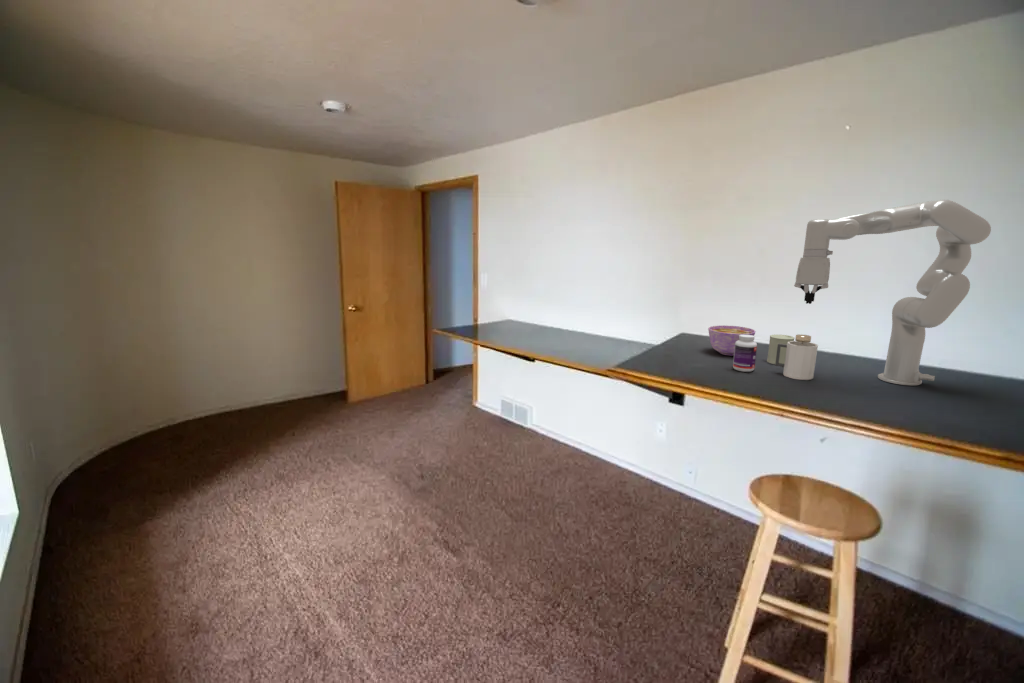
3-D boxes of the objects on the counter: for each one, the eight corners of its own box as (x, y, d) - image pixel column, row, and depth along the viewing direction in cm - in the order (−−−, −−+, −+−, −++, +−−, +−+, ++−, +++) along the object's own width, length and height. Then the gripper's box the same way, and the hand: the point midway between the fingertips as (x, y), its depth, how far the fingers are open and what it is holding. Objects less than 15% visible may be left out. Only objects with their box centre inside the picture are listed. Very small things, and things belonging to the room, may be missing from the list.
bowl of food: (697, 349, 218) (699, 326, 216) (734, 347, 222) (736, 324, 219) (723, 360, 199) (725, 334, 197) (763, 357, 203) (766, 332, 200)
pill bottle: (755, 373, 180) (760, 338, 176) (733, 371, 182) (737, 337, 179) (752, 367, 187) (756, 334, 184) (731, 366, 190) (734, 333, 186)
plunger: (810, 369, 176) (815, 335, 173) (808, 373, 170) (813, 338, 167) (789, 366, 180) (793, 333, 177) (786, 370, 174) (791, 336, 171)
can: (795, 365, 190) (799, 337, 188) (773, 365, 190) (777, 338, 188) (783, 359, 199) (786, 333, 197) (762, 359, 199) (765, 333, 197)
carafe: (814, 375, 176) (819, 343, 174) (811, 381, 169) (816, 348, 166) (776, 369, 184) (780, 338, 181) (772, 375, 177) (776, 343, 174)
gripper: (840, 253, 163) (833, 303, 167) (793, 253, 172) (787, 300, 176) (839, 254, 158) (832, 306, 162) (790, 254, 167) (784, 303, 171)
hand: (808, 303), depth 169 cm, fingers closed
